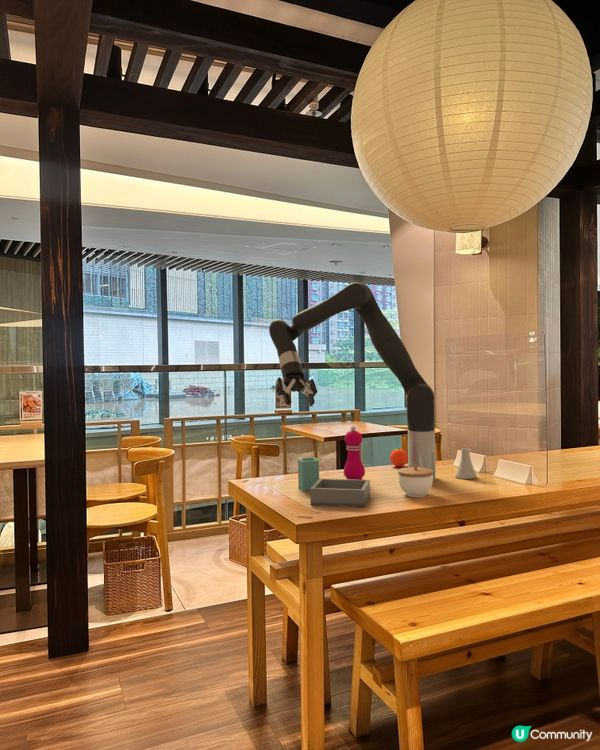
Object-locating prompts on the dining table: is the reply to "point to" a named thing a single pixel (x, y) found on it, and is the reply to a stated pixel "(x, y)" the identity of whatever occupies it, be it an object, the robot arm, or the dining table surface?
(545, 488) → the dining table surface
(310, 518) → the dining table surface
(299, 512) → the dining table surface
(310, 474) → the teal crate
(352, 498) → the tray
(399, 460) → the clementine
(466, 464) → the flask
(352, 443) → the pepper mill
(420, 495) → the lidded jar
